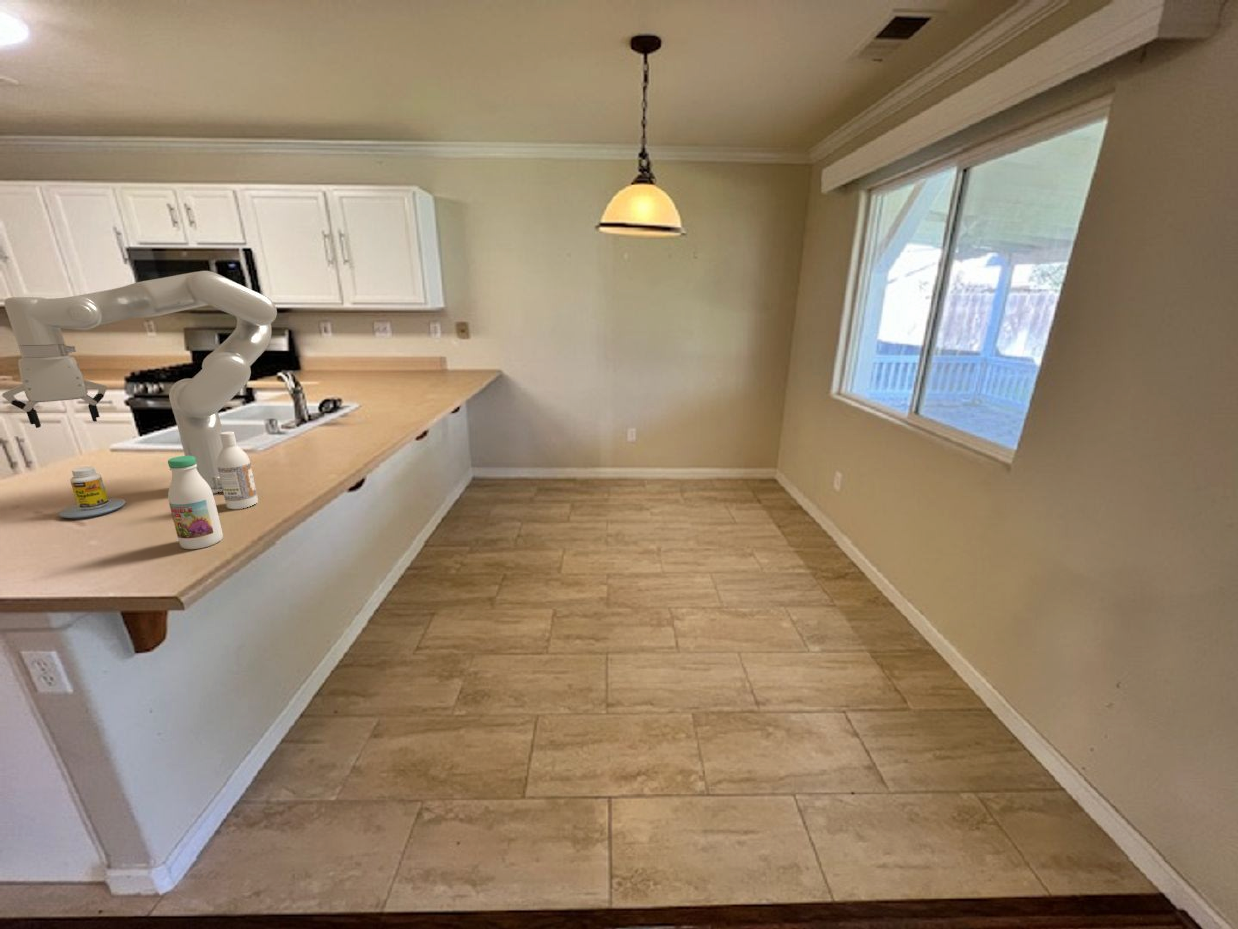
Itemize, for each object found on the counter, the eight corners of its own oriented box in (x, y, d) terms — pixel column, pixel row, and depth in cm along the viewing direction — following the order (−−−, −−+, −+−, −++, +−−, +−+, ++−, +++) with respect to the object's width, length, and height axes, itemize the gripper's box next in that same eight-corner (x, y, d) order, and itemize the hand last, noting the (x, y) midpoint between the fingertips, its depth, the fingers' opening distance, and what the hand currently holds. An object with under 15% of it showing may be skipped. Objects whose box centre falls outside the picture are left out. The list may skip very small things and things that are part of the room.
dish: (137, 505, 137) (136, 501, 136) (82, 523, 125) (81, 518, 125) (105, 500, 139) (103, 496, 139) (48, 517, 128) (46, 512, 128)
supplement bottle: (76, 512, 129) (63, 473, 126) (82, 505, 133) (70, 467, 130) (106, 507, 132) (95, 469, 128) (111, 501, 136) (100, 464, 133)
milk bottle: (196, 535, 120) (175, 453, 114) (231, 534, 120) (212, 452, 114) (171, 550, 112) (147, 463, 106) (209, 549, 113) (187, 463, 107)
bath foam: (256, 507, 136) (240, 434, 130) (224, 511, 133) (206, 437, 127) (260, 499, 142) (245, 428, 136) (230, 502, 139) (213, 430, 133)
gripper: (95, 349, 129) (115, 416, 134) (-11, 353, 117) (15, 426, 122) (96, 351, 124) (116, 420, 129) (-15, 356, 112) (13, 432, 117)
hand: (67, 423), depth 126 cm, fingers open, 9 cm apart
